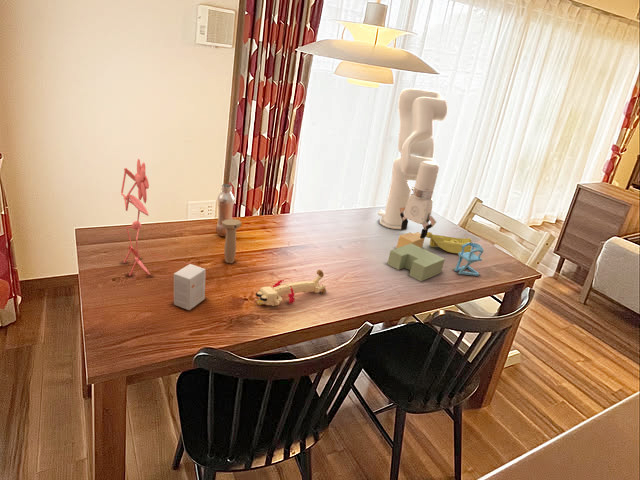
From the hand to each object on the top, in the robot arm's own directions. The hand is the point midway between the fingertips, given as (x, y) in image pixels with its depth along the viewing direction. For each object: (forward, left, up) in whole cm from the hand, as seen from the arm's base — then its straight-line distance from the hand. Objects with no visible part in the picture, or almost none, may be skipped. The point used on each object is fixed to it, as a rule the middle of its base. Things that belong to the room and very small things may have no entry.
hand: (412, 233), depth 197 cm
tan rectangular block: (0, +2, -8) cm, 8 cm away
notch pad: (+11, -13, -8) cm, 19 cm away
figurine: (-37, -97, -8) cm, 104 cm away
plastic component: (+6, +18, -8) cm, 21 cm away
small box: (-12, -98, -8) cm, 99 cm away
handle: (-27, -72, -8) cm, 77 cm away
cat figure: (+2, -70, -8) cm, 70 cm away
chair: (+25, +4, -8) cm, 26 cm away
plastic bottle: (-47, -60, -8) cm, 77 cm away
